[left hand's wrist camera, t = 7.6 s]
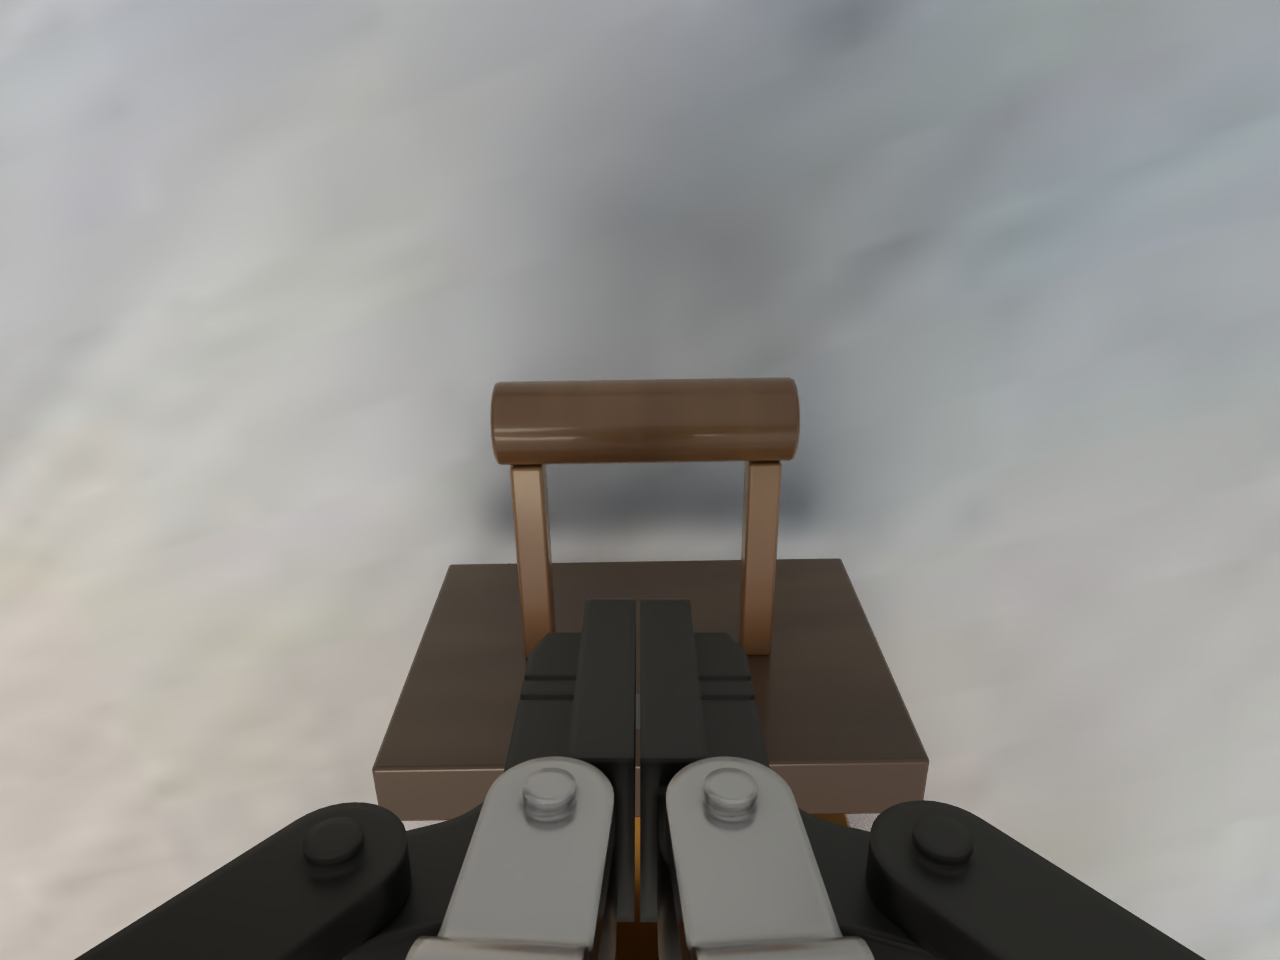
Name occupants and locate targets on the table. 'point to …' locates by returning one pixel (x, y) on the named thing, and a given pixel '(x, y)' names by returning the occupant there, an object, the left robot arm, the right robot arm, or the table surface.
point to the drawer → (720, 603)
